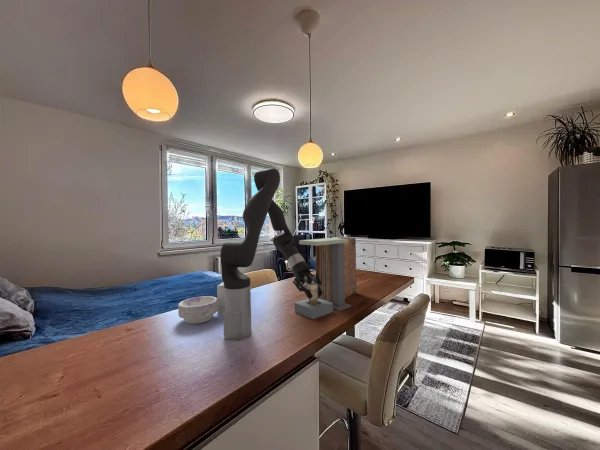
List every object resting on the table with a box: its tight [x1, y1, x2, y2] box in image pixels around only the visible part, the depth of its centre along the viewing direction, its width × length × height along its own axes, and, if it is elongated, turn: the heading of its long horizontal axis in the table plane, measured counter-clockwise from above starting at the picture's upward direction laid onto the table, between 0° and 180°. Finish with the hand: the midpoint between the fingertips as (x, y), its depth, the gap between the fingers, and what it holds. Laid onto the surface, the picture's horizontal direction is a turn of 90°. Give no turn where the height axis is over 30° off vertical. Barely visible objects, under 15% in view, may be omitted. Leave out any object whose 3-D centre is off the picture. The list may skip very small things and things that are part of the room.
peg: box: [308, 282, 318, 306], centre depth 109 cm, size 4×4×12 cm
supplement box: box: [216, 281, 224, 315], centre depth 112 cm, size 7×7×13 cm
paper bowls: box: [177, 295, 218, 325], centre depth 103 cm, size 15×15×8 cm
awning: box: [298, 237, 352, 312], centre depth 111 cm, size 11×22×32 cm, turn 129°
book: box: [314, 236, 358, 303], centre depth 129 cm, size 25×9×30 cm, turn 140°
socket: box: [293, 298, 334, 320], centre depth 109 cm, size 12×12×4 cm
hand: (316, 296), depth 108 cm, fingers open, 5 cm apart
